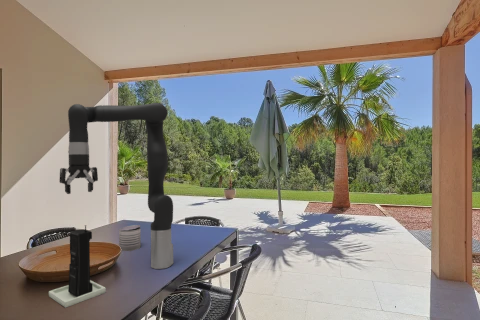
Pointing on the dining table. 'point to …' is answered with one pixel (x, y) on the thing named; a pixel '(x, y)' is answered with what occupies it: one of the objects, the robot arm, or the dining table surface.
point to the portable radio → (80, 262)
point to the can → (130, 238)
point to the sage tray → (68, 299)
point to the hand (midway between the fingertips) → (79, 192)
